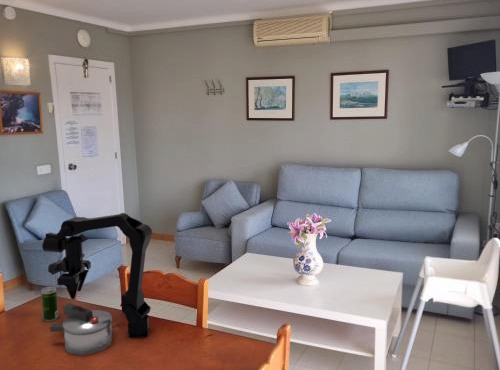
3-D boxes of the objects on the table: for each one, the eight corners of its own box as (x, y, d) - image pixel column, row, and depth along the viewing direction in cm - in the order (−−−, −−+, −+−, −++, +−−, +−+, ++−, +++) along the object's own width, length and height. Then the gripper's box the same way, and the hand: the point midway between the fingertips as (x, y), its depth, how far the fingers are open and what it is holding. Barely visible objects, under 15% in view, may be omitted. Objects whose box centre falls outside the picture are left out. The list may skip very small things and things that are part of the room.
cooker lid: (121, 319, 152) (121, 308, 151) (83, 338, 139) (83, 326, 138) (85, 307, 161) (84, 296, 161) (46, 324, 148) (46, 312, 148)
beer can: (60, 315, 172) (58, 285, 170) (55, 321, 166) (53, 291, 164) (46, 315, 171) (44, 286, 169) (40, 322, 166) (38, 291, 164)
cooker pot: (116, 332, 158) (115, 313, 157) (105, 354, 143) (104, 334, 142) (60, 333, 157) (59, 315, 156) (44, 356, 142) (42, 335, 141)
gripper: (60, 245, 165) (62, 285, 167) (40, 261, 147) (42, 306, 149) (90, 245, 166) (92, 285, 168) (74, 261, 147) (76, 305, 150)
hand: (76, 294), depth 159 cm, fingers open, 6 cm apart
